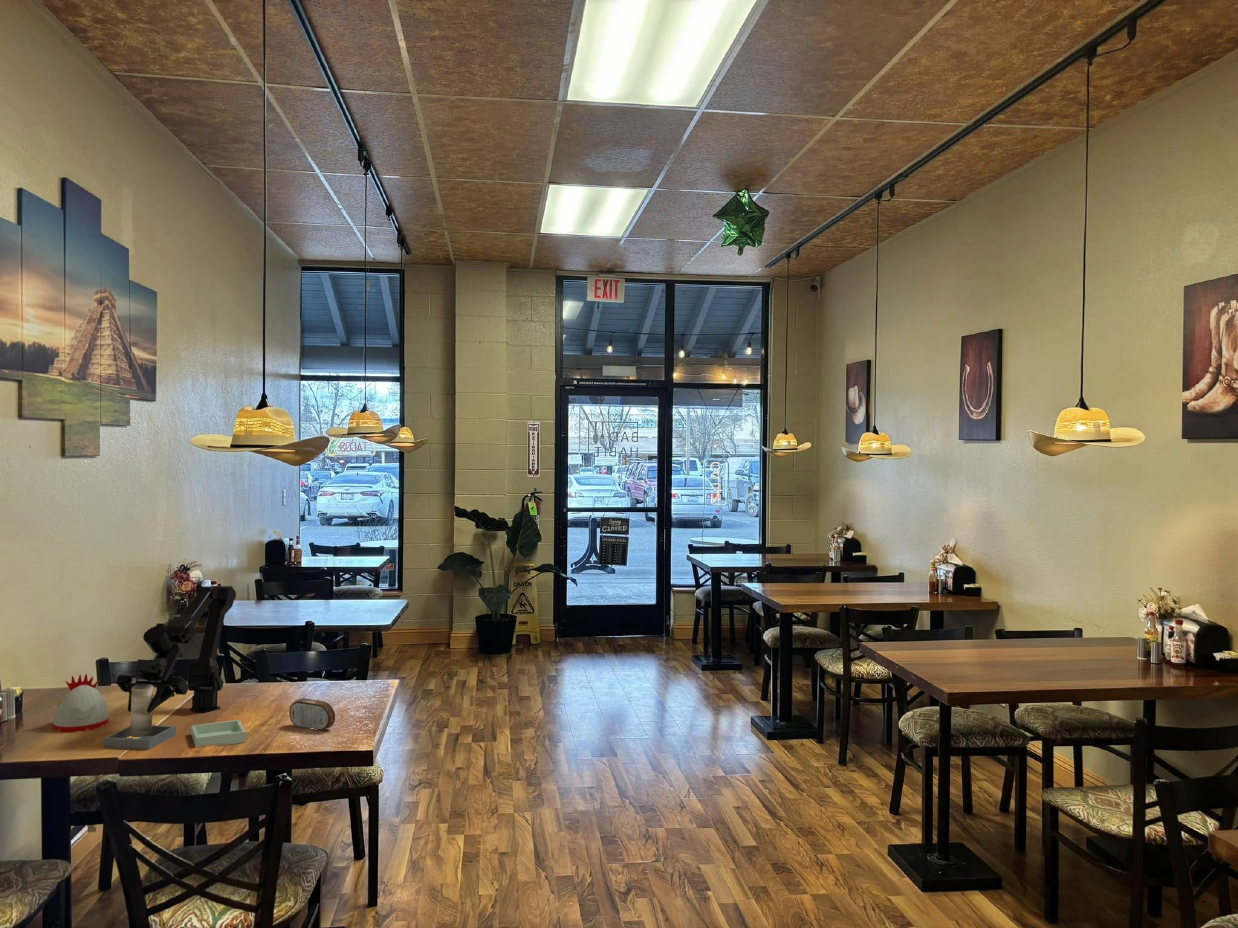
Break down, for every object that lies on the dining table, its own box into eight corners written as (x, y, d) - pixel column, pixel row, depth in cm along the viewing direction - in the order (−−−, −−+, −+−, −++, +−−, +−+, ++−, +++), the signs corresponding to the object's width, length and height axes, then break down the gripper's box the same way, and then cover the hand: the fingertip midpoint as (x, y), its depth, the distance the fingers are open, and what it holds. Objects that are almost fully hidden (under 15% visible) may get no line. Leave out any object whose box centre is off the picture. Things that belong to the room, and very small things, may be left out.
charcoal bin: (132, 734, 238) (133, 724, 238) (175, 736, 237) (176, 726, 237) (103, 749, 225) (103, 737, 225) (148, 751, 225) (149, 740, 225)
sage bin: (191, 735, 238) (191, 725, 238) (239, 729, 245) (239, 719, 245) (195, 748, 228) (196, 737, 228) (245, 742, 234) (246, 731, 234)
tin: (335, 730, 248) (336, 701, 248) (328, 733, 245) (329, 704, 245) (294, 723, 253) (295, 696, 253) (286, 726, 250) (287, 698, 250)
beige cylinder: (144, 729, 235) (146, 682, 235) (155, 733, 232) (157, 685, 232) (126, 734, 230) (127, 686, 230) (137, 738, 228) (138, 689, 228)
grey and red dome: (51, 722, 246) (53, 671, 247) (105, 715, 255) (107, 666, 255) (54, 735, 235) (56, 682, 236) (111, 727, 244) (113, 676, 244)
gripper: (120, 645, 236) (92, 695, 225) (184, 648, 235) (159, 698, 224) (136, 666, 244) (110, 715, 233) (198, 669, 243) (175, 718, 232)
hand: (138, 711), depth 230 cm, fingers closed on beige cylinder, 5 cm apart
